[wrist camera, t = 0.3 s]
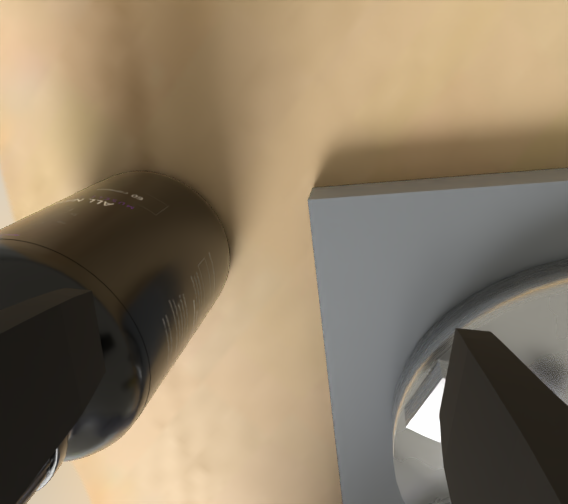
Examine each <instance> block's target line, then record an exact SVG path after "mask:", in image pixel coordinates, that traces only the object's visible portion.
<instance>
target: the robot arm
mask: <svg viewBox="0 0 568 504" xmlns="http://www.w3.org/2000/svg"><path fill="white" fill-rule="evenodd" d="M105 372H106V369H105V364H104V358H103V352H102V346H101V340H100V334H99V328H98V323H97V317H96V311H95V305H94V299H93V293H92V291H91V290H82V289H72V288H62V289H59V290H55V291H52V292H48V293H45V294H42V295H39V296H37V297H34V298H31V299H28V300H26V301H23V302H20V303H18V304H15V305H12V306H10V307H7V308H5V309H2V310H0V504H16V502H17V501H18V500H19V498H20V497H21V496H22V494H23V493H24V492H25V490H26V489H27V488H28V486H29V485H30V484H31V482H32V481H33V480H34V478H35V477H36V476H37V474H38V473H39V472H40V470H41V469H42V468H43V466H44V465H45V464H46V463H47V461H48V460H49V459H50V457H51V456H52V455H53V453H54V452H55V451H56V449H57V448H58V447H59V445H60V444H61V443H62V441H63V440H64V438H65V437H66V436H67V434H68V433H69V432H70V430H71V429H72V428H73V426H74V425H75V424H76V422H77V421H78V419H79V418H80V417H81V415H82V414H83V412H84V410H85V409H86V407H87V405H88V403H89V402H90V400H91V398H92V397H93V395H94V393H95V391H96V389H97V387H98V385H99V383H100V382H101V380H102V378H103V376H104V374H105ZM439 421H440V434H441V445H442V456H443V466H444V471H445V476H446V481H447V486H448V490H449V495H450V500H451V504H568V405H567V404H565V403H564V402H563V401H562V400H561V399H560V398H559V397H558V396H557V395H556V394H555V393H554V392H553V391H552V390H551V389H549V388H548V387H547V386H546V385H545V384H544V383H543V382H542V381H541V380H540V379H539V378H538V377H537V376H536V375H535V374H534V373H533V372H532V371H531V370H530V369H529V368H528V367H527V366H526V365H525V364H524V363H523V362H522V361H521V360H520V359H519V358H518V357H517V356H516V355H515V354H514V353H513V352H512V351H511V350H510V349H509V348H508V347H507V346H506V345H505V344H504V343H502V342H501V341H500V340H499V339H498V338H497V337H496V336H495V335H494V334H493V333H492V332H491V331H481V330H471V329H461V328H455V333H454V339H453V344H452V349H451V354H450V359H449V365H448V370H447V375H446V380H445V386H444V391H443V396H442V401H441V407H440V412H439Z"/></svg>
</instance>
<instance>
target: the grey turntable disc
mask: <svg viewBox="0 0 568 504" xmlns="http://www.w3.org/2000/svg"><path fill="white" fill-rule="evenodd" d="M455 328H461V329H471V330H481V331H491V332H492V333H493V334H494V335H495V336H496V337H497V338H498V339H499V340H500V341H501V342H502V343H504V344H505V345H506V346H507V347H508V348H509V349H510V350H511V351H512V352H513V353H514V354H515V355H516V356H517V357H518V358H519V359H520V360H521V361H522V362H523V363H524V364H525V365H526V366H527V367H528V368H529V369H530V370H531V371H532V372H533V373H534V374H535V375H536V376H537V377H538V378H539V379H540V380H541V381H542V382H543V383H544V384H545V385H546V386H547V387H548V388H549V389H551V390H552V391H553V392H554V393H555V394H556V395H557V396H558V397H559V398H560V399H561V400H562V401H563V402H564V403H565V404H567V405H568V259H563V260H558V261H553V262H549V263H546V264H543V265H540V266H536V267H533V268H530V269H527V270H524V271H520V272H518V273H516V274H514V275H511V276H509V277H507V278H504V279H502V280H500V281H497V282H495V283H493V284H491V285H489V286H488V287H486V288H484V289H482V290H481V291H479V292H477V293H475V294H474V295H472V296H470V297H468V298H467V299H466V300H464V301H463V302H462V303H460V304H459V305H458V306H456V307H455V308H454V309H452V310H451V311H449V312H448V313H447V314H446V315H445V316H444V317H443V318H442V319H440V320H439V321H438V322H437V323H436V324H435V325H434V326H433V327H432V328H431V329H430V330H429V331H428V332H427V334H426V335H425V336H424V337H423V339H422V340H421V341H420V342H419V344H418V345H417V346H416V347H415V349H414V350H413V352H412V354H411V355H410V357H409V359H408V361H407V362H406V364H405V366H404V367H403V370H402V372H401V375H400V378H399V380H398V383H397V385H396V389H395V394H394V399H393V404H392V442H393V462H394V469H395V476H396V481H397V484H398V487H399V490H400V493H401V496H402V499H403V501H404V503H405V504H451V500H450V495H449V490H448V486H447V481H446V476H445V471H444V466H443V456H442V445H441V434H440V421H439V412H440V407H441V401H442V396H443V391H444V386H445V380H446V375H447V370H448V365H449V359H450V354H451V349H452V344H453V339H454V333H455Z"/></svg>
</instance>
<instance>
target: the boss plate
mask: <svg viewBox="0 0 568 504" xmlns="http://www.w3.org/2000/svg"><path fill="white" fill-rule="evenodd" d="M308 206H309V215H310V223H311V232H312V241H313V250H314V258H315V267H316V276H317V284H318V293H319V302H320V311H321V319H322V328H323V337H324V345H325V354H326V363H327V372H328V380H329V389H330V398H331V406H332V415H333V424H334V432H335V441H336V450H337V459H338V467H339V476H340V485H341V493H342V502H343V504H405V503H404V501H403V499H402V496H401V493H400V490H399V487H398V484H397V481H396V476H395V469H394V462H393V442H392V404H393V399H394V394H395V389H396V385H397V383H398V380H399V378H400V375H401V372H402V370H403V367H404V366H405V364H406V362H407V361H408V359H409V357H410V355H411V354H412V352H413V350H414V349H415V347H416V346H417V345H418V344H419V342H420V341H421V340H422V339H423V337H424V336H425V335H426V334H427V332H428V331H429V330H430V329H431V328H432V327H433V326H434V325H435V324H436V323H437V322H438V321H439V320H440V319H442V318H443V317H444V316H445V315H446V314H447V313H448V312H449V311H451V310H452V309H454V308H455V307H456V306H458V305H459V304H460V303H462V302H463V301H464V300H466V299H467V298H468V297H470V296H472V295H474V294H475V293H477V292H479V291H481V290H482V289H484V288H486V287H488V286H489V285H491V284H493V283H495V282H497V281H500V280H502V279H504V278H507V277H509V276H511V275H514V274H516V273H518V272H520V271H524V270H527V269H530V268H533V267H536V266H540V265H543V264H546V263H549V262H553V261H558V260H563V259H568V168H558V169H546V170H533V171H520V172H507V173H495V174H482V175H469V176H456V177H444V178H431V179H418V180H405V181H393V182H380V183H367V184H354V185H342V186H329V187H316V188H312V191H311V193H310V196H309V198H308Z"/></svg>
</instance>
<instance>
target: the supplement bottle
mask: <svg viewBox="0 0 568 504" xmlns="http://www.w3.org/2000/svg"><path fill="white" fill-rule="evenodd" d="M229 261H230V255H229V246H228V241H227V237H226V234H225V231H224V229H223V226H222V224H221V222H220V220H219V218H218V217H217V215H216V213H215V212H214V211H213V209H212V208H211V207H210V205H209V204H208V203H207V202H206V201H205V200H204V199H203V198H202V197H201V196H200V195H199V194H198V193H197V192H195V191H194V190H193V189H192V188H190V187H189V186H187V185H186V184H184V183H182V182H180V181H179V180H177V179H174V178H172V177H170V176H167V175H164V174H160V173H155V172H148V171H131V172H125V173H121V174H118V175H115V176H112V177H110V178H107V179H105V180H103V181H100V182H98V183H96V184H94V185H92V186H90V187H87V188H85V189H83V190H81V191H79V192H77V193H75V194H73V195H71V196H69V197H67V198H65V199H63V200H60V201H58V202H56V203H54V204H52V205H50V206H48V207H46V208H44V209H42V210H40V211H38V212H36V213H33V214H31V215H29V216H27V217H25V218H23V219H21V220H19V221H17V222H15V223H13V224H11V225H9V226H6V227H4V228H2V229H0V310H2V309H5V308H7V307H10V306H12V305H15V304H18V303H20V302H23V301H26V300H28V299H31V298H34V297H37V296H39V295H42V294H45V293H48V292H52V291H55V290H59V289H62V288H72V289H82V290H91V291H92V293H93V299H94V305H95V311H96V317H97V323H98V328H99V334H100V340H101V346H102V352H103V358H104V364H105V369H106V372H105V374H104V376H103V378H102V380H101V382H100V383H99V385H98V387H97V389H96V391H95V393H94V395H93V397H92V398H91V400H90V402H89V403H88V405H87V407H86V409H85V410H84V412H83V414H82V415H81V417H80V418H79V419H78V421H77V422H76V424H75V425H74V426H73V428H72V429H71V430H70V432H69V433H68V434H67V436H66V437H65V438H64V440H63V441H62V443H61V444H60V445H59V447H58V448H57V449H56V451H55V452H54V453H53V455H52V456H51V457H50V459H49V460H48V461H47V463H46V464H45V465H44V466H43V468H42V469H41V470H40V472H39V473H38V474H37V476H36V477H35V478H34V480H33V481H32V482H31V484H30V485H29V486H28V488H27V489H26V490H25V492H24V493H23V494H22V496H21V497H20V498H19V500H18V501H17V502H16V504H26V503H27V502H28V501H29V500H30V498H31V497H32V496H33V494H34V493H35V492H36V491H38V490H40V489H41V488H42V487H44V486H45V485H46V484H47V483H48V481H50V479H51V478H52V477H53V475H54V474H55V473H56V471H57V470H58V468H59V467H60V465H61V464H62V462H64V461H72V460H76V459H80V458H84V457H87V456H90V455H92V454H95V453H97V452H99V451H101V450H103V449H105V448H107V447H108V446H110V445H111V444H113V443H115V442H116V441H117V440H118V439H120V438H121V437H122V436H123V435H124V434H125V433H126V432H127V431H128V430H129V429H130V428H131V426H132V425H133V424H134V422H135V421H136V420H137V419H138V417H139V416H140V414H141V413H142V411H143V410H144V408H145V407H146V405H147V404H148V402H149V401H150V399H151V398H152V396H153V395H154V393H155V392H156V390H157V389H158V387H159V386H160V384H161V383H162V381H163V380H164V378H165V377H166V375H167V374H168V372H169V371H170V369H171V368H172V366H173V365H174V363H175V362H176V360H177V359H178V357H179V356H180V354H181V353H182V351H183V350H184V348H185V347H186V345H187V344H188V342H189V341H190V339H191V338H192V336H193V335H194V333H195V332H196V330H197V329H198V327H199V326H200V324H201V323H202V321H203V320H204V318H205V317H206V315H207V314H208V312H209V311H210V309H211V308H212V306H213V305H214V303H215V301H216V300H217V298H218V296H219V295H220V293H221V291H222V289H223V287H224V285H225V282H226V280H227V276H228V272H229Z"/></svg>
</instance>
